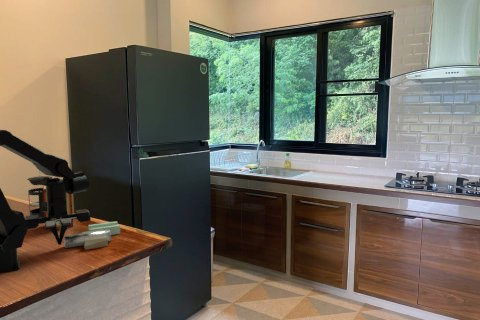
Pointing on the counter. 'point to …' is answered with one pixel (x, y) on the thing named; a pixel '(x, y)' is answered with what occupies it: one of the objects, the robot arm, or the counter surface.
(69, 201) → the baking soda box
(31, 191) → the french press
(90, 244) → the beam rails
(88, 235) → the axle
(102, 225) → the v block
